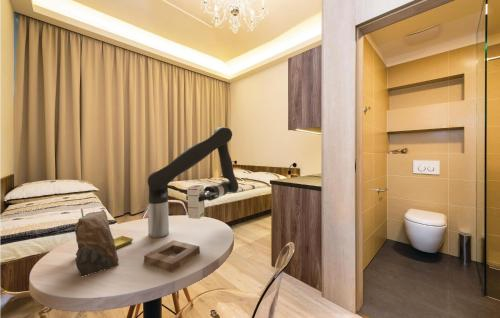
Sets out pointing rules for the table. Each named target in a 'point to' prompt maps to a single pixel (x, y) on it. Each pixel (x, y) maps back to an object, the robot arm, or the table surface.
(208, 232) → the table surface
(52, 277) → the table surface
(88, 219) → the brown rough tall block
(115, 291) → the table surface
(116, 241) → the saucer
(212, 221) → the table surface
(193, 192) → the syrup box
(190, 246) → the hole board
